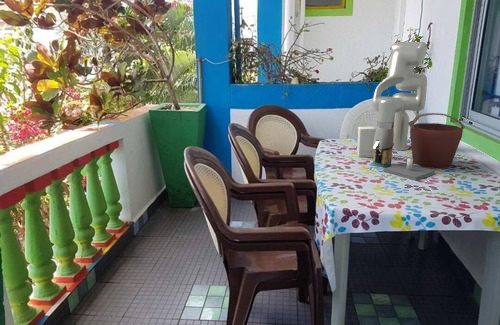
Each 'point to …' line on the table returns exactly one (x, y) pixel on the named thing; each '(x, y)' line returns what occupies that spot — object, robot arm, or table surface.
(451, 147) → the bucket
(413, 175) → the pin board
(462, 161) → the table surface
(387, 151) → the wooden sleeve
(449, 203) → the table surface
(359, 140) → the skincare box
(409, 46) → the robot arm
